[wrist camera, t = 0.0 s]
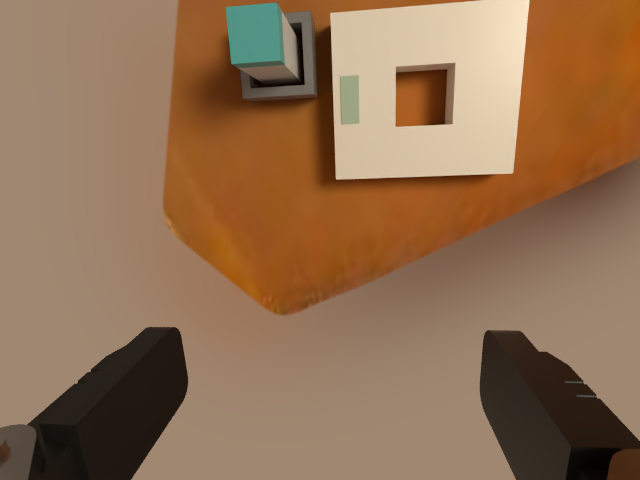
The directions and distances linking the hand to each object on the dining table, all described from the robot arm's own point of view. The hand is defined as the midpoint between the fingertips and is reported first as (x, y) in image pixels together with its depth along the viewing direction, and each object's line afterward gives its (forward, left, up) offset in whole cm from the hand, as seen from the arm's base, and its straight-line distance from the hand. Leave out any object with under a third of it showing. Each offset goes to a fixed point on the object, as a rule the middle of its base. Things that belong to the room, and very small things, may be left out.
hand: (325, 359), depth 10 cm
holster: (-13, -6, -29) cm, 33 cm away
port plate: (-9, +7, -29) cm, 31 cm away
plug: (-13, -6, -29) cm, 33 cm away
